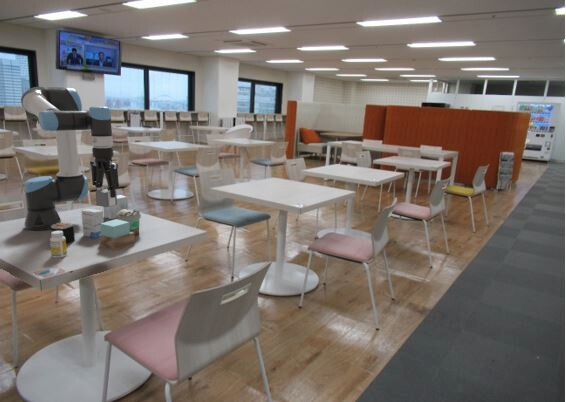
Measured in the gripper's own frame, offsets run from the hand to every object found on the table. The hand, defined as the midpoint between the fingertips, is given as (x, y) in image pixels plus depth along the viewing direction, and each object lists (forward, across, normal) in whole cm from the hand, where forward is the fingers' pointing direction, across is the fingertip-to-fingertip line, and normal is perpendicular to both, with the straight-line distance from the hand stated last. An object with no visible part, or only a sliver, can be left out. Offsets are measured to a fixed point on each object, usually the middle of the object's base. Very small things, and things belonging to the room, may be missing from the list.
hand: (106, 203), depth 166 cm
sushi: (+19, -22, -6) cm, 30 cm away
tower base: (+19, 0, +4) cm, 19 cm away
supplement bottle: (+19, -8, -17) cm, 27 cm away
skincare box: (+19, -36, +33) cm, 53 cm away
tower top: (+14, 0, +3) cm, 14 cm away
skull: (+19, -20, +26) cm, 38 cm away
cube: (0, 0, 0) cm, 0 cm away
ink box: (+19, -18, +6) cm, 27 cm away
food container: (+19, -5, +17) cm, 26 cm away
